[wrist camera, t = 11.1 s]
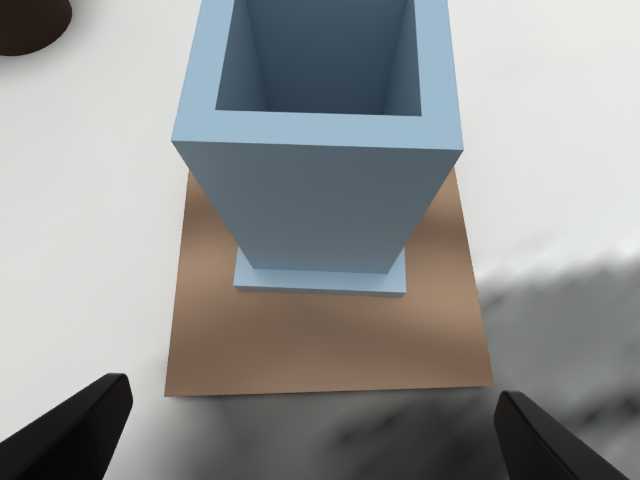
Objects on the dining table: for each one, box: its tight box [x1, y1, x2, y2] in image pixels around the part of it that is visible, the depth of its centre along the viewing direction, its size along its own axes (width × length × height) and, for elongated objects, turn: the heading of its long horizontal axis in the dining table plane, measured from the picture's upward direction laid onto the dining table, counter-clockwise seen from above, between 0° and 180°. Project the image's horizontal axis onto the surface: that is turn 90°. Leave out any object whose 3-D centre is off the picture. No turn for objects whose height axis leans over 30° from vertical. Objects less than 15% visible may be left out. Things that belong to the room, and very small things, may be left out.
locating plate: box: [164, 166, 494, 397], centre depth 18 cm, size 16×14×4 cm
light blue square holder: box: [171, 0, 464, 297], centre depth 14 cm, size 8×8×10 cm
